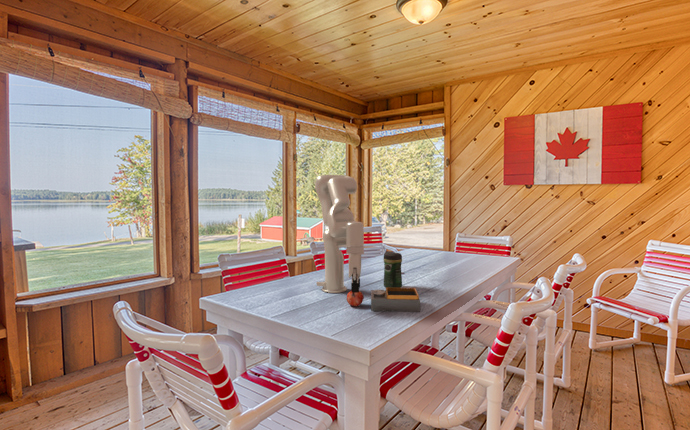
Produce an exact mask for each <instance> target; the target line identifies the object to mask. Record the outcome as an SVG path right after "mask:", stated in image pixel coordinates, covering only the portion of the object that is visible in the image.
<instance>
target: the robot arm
mask: <svg viewBox="0 0 690 430" xmlns="http://www.w3.org/2000/svg"><path fill="white" fill-rule="evenodd" d="M314 185H315V187H314V188H315V193H316V195H317V197H318V200H319V202H320V206H321V207H320V208H321V213H322V214H321V215H322V220H323V223H324V226H325V227H328V228H327V229H326V230H324V231H323V233H322V242H323V248H324V249H323V250H324V281H316V286H318V287H322V288H321V290H322V292H324V293H327V292H328V293H329V294H339V293H340V294H341V293H344V292H346V291H347V290H348V286H345V283H344V282H345V277H344V275H345V272H344V270H345V269H344V265H345V264H344V260H345V259H344V257H345V256H344V254H343V252H342V250H341V249H340V248H343V247H345V248H346V255H348V277H349V279H350V278H351V282H350V285H351V288H350V291H351V292H352V293H359V291H360V288H361V274H362V255H364V254H365V245H364V244H365V239H364V237H365V236H364V235H365V234H364V231H365V230H364V223H363V222H362V221H355V218H354V213H353V211H352V210H351V209H350V208H349V207H350V205H351V201H350V196H349V195H353V194H356V192H357V190H358V184H357V181H356V179H355V178H354V177H353V176H349V175H344V174H322V175H319V176H317V177H316V179H315V183H314Z"/></svg>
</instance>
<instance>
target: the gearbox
mask: <svg viewBox="0 0 690 430" xmlns="http://www.w3.org/2000/svg"><path fill="white" fill-rule="evenodd" d="M370 293H371V294H370V311H371V312H403V313H406V312H408V313H409V312H410V313H412V312H413V313H420V312H421V299H420V296H419V293H418V291H417V289H416V287H401V288H389V287H385V290H384V289H371V292H370Z"/></svg>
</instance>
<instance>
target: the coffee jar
mask: <svg viewBox="0 0 690 430" xmlns="http://www.w3.org/2000/svg"><path fill="white" fill-rule="evenodd" d="M382 261H383V264H384V267H383V268H384V270H383V271H384V273H383V286H384V287H385V288H386V287H389V288H403V278H402V277H403V276H402V263H403V257H402V253H400V252H395V251H387V252H384V254H383V260H382Z"/></svg>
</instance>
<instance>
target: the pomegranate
mask: <svg viewBox="0 0 690 430" xmlns="http://www.w3.org/2000/svg"><path fill="white" fill-rule="evenodd" d="M346 302H347V304H348V305H350V306H351V307H360V306H361V305H362V303H363V302H364V294H363V293H362V291H360V290H359V293H352V292H351V290H350V291H349V292H348V293H347V295H346Z"/></svg>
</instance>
